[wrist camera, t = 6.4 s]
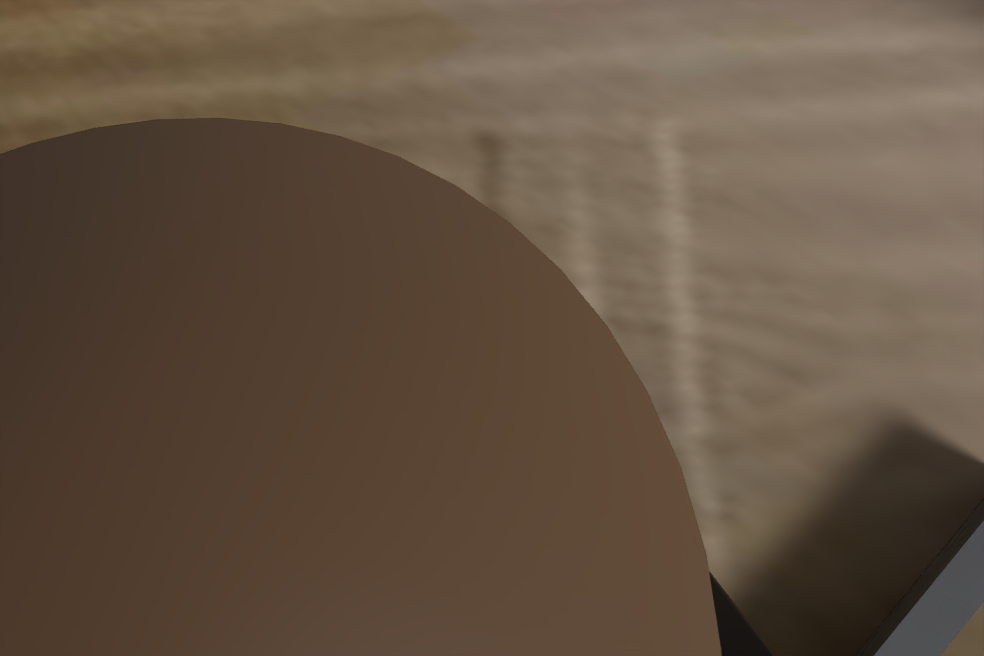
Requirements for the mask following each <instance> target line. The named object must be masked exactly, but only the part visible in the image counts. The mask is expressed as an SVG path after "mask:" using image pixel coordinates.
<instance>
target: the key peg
mask: <svg viewBox="0 0 984 656" xmlns="http://www.w3.org/2000/svg"><path fill="white" fill-rule="evenodd" d="M0 656H721V646H720V639H719V633H718V626H717V620H716V613H715V607H714V601H713V594H712V588H711V581H710V575H709V568H708V562H707V556H706V551H705V548H704V545H703V541H702V538H701V534H700V531H699V527H698V524H697V521H696V517H695V514H694V510H693V507H692V503H691V500H690V497H689V493H688V490H687V486H686V483H685V479H684V476H683V472H682V469H681V466H680V464H679V462H678V460H677V457H676V455H675V453H674V450H673V448H672V446H671V444H670V441H669V439H668V437H667V435H666V432H665V430H664V428H663V426H662V423H661V421H660V419H659V416H658V414H657V412H656V410H655V407H654V405H653V403H652V401H651V398H650V396H649V394H648V392H647V390H646V388H645V387H644V385H643V383H642V382H641V380H640V379H639V377H638V375H637V374H636V372H635V370H634V369H633V367H632V366H631V364H630V362H629V361H628V359H627V357H626V356H625V354H624V353H623V351H622V349H621V348H620V346H619V344H618V343H617V341H616V340H615V338H614V336H613V335H612V333H611V331H610V330H609V328H608V326H607V325H606V324H605V323H604V321H603V320H602V319H601V318H600V317H599V315H598V314H597V313H596V312H595V310H594V309H593V308H592V307H591V306H590V304H589V303H588V302H587V301H586V300H585V298H584V297H583V296H582V295H581V293H580V292H579V291H578V290H577V289H576V287H575V286H574V285H573V284H572V283H571V281H570V280H569V279H568V278H567V276H566V275H565V274H564V273H563V272H562V270H561V269H560V268H559V267H557V266H556V265H555V264H554V263H553V262H552V261H551V260H550V259H549V258H548V257H547V256H546V255H544V254H543V253H542V252H541V251H540V250H539V249H538V248H537V247H536V246H535V245H534V244H532V243H531V242H530V241H529V240H528V239H527V238H526V237H525V236H524V235H523V234H522V233H520V232H519V231H518V230H517V229H516V228H515V227H514V226H513V225H512V224H511V223H509V222H508V221H507V220H505V219H504V218H502V217H501V216H499V215H498V214H496V213H495V212H494V211H492V210H491V209H489V208H488V207H486V206H485V205H483V204H482V203H480V202H479V201H478V200H476V199H475V198H473V197H472V196H470V195H469V194H467V193H466V192H465V191H463V190H462V189H460V188H459V187H457V186H456V185H454V184H452V183H450V182H448V181H446V180H444V179H442V178H440V177H438V176H436V175H434V174H432V173H430V172H428V171H426V170H424V169H422V168H420V167H418V166H416V165H414V164H412V163H410V162H408V161H407V160H405V159H403V158H401V157H398V156H395V155H393V154H390V153H387V152H384V151H381V150H378V149H375V148H373V147H370V146H367V145H364V144H361V143H358V142H355V141H353V140H350V139H347V138H344V137H341V136H337V135H332V134H328V133H323V132H318V131H313V130H309V129H304V128H299V127H295V126H290V125H285V124H281V123H270V122H259V121H247V120H236V119H225V118H198V119H159V120H150V121H143V122H135V123H128V124H120V125H113V126H106V127H98V128H93V129H88V130H84V131H80V132H76V133H72V134H68V135H64V136H59V137H55V138H51V139H47V140H43V141H39V142H35V143H31V144H28V145H25V146H22V147H19V148H17V149H14V150H11V151H8V152H5V153H2V154H0Z"/></svg>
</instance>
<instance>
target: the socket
mask: <svg viewBox="0 0 984 656" xmlns="http://www.w3.org/2000/svg"><path fill="white" fill-rule="evenodd" d="M983 601H984V499H983V501H982V502H981V503H980V504H979V505H978V507H977V508H976V509H975V510H974V512H973V513H972V514H971V515H970V516H969V518H968V519H967V520H966V521H965V523H964V524H963V525H962V526H961V527H960V529H959V530H958V531H957V532H956V534H955V535H954V536H953V537H952V538H951V540H950V541H949V542H948V543H947V545H946V546H945V547H944V548H943V549H942V551H941V552H940V553H939V554H938V556H937V557H936V558H935V559H934V560H933V562H932V563H931V564H930V565H929V566H928V568H927V569H926V570H925V571H924V573H923V574H922V575H921V576H920V577H919V579H918V580H917V581H916V582H915V584H914V585H913V586H912V587H911V588H910V590H909V591H908V592H907V593H906V595H905V596H904V597H903V598H902V599H901V601H900V602H899V603H898V604H897V606H896V607H895V608H894V609H893V610H892V612H891V613H890V614H889V615H888V617H887V618H886V619H885V620H884V621H883V623H882V624H881V625H880V626H879V628H878V629H877V630H876V631H875V632H874V634H873V635H872V636H871V637H870V639H869V640H868V641H867V642H866V643H865V645H864V646H863V647H862V648H861V650H860V651H859V652H858V653H857V654H856V656H941V654H942V653H943V652H944V651H945V649H946V648H947V647H948V646H949V644H950V643H951V642H952V640H953V639H954V638H955V637H956V635H957V634H958V633H959V632H960V630H961V629H962V628H963V627H964V625H965V624H966V623H967V622H968V620H969V619H970V618H971V616H972V615H973V614H974V613H975V611H976V610H977V609H978V608H979V606H980V605H981V604H982V603H983Z"/></svg>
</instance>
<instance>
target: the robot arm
mask: <svg viewBox="0 0 984 656" xmlns="http://www.w3.org/2000/svg"><path fill="white" fill-rule="evenodd" d="M709 575H710V581H711V588H712V594H713V601H714V607H715V613H716V620H717V626H718V633H719V639H720V646H721V656H775V654H774V653H773V652H772V650H771V649H770V648H769V647H768V645H767V644H766V643H765V642H764V640H763V639H762V638H761V636H760V635H759V634H758V633H757V631H756V630H755V629H754V628H753V626H752V625H751V624H750V622H749V621H748V620H747V619H746V617H745V616H744V615H743V614H742V612H741V611H740V610H739V608H738V607H737V606H736V605H735V603H734V602H733V601H732V599H731V598H730V597H729V596H728V594H727V593H726V592H725V591H724V589H723V588H722V587H721V585H720V584H719V583H718V582H717V580H716V579H715V578H714V577H713V575H712V574H711V573H710V571H709Z"/></svg>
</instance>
